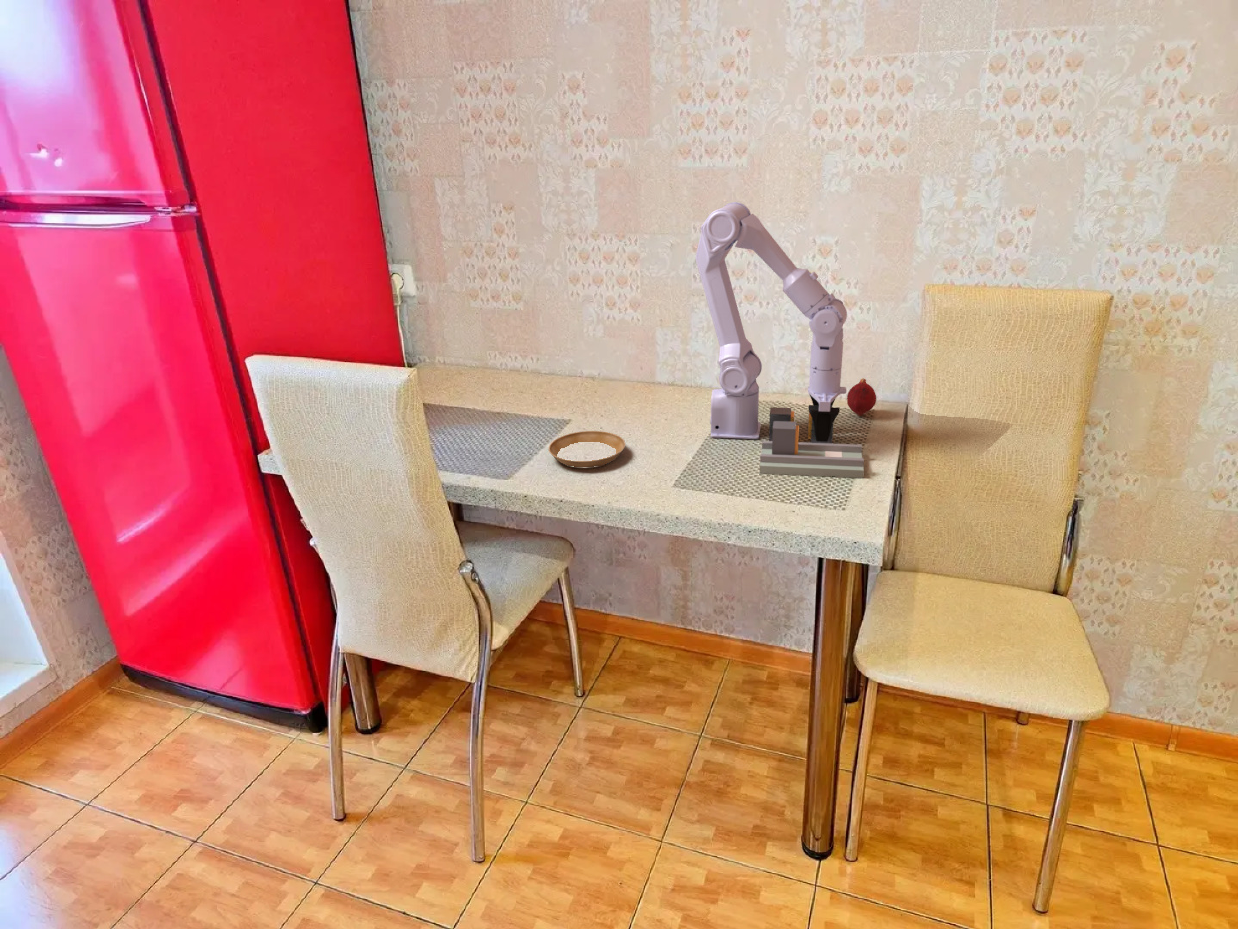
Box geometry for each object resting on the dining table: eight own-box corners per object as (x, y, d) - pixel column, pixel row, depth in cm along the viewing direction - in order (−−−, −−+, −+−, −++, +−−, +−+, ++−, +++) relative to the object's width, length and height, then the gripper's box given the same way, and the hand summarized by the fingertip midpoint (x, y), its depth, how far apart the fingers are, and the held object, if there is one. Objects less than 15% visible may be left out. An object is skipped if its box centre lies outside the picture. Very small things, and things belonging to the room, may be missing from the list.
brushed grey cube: (807, 443, 159) (809, 415, 157) (807, 436, 162) (809, 408, 160) (832, 444, 158) (834, 415, 156) (831, 437, 161) (833, 409, 159)
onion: (875, 421, 168) (878, 384, 164) (846, 420, 169) (849, 383, 166) (873, 410, 173) (876, 374, 170) (845, 410, 174) (847, 374, 171)
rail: (759, 473, 148) (760, 434, 145) (762, 450, 157) (763, 414, 154) (863, 478, 145) (866, 438, 142) (860, 454, 154) (863, 417, 150)
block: (768, 442, 161) (769, 413, 158) (769, 435, 164) (770, 407, 161) (792, 443, 160) (794, 414, 157) (793, 436, 163) (794, 407, 160)
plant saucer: (533, 461, 158) (532, 448, 157) (585, 436, 168) (585, 424, 167) (589, 481, 149) (588, 468, 148) (641, 453, 159) (641, 441, 158)
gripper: (849, 379, 147) (844, 448, 152) (846, 354, 159) (841, 419, 165) (808, 378, 148) (805, 447, 154) (809, 353, 161) (805, 418, 167)
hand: (821, 433), depth 160 cm, fingers open, 7 cm apart
